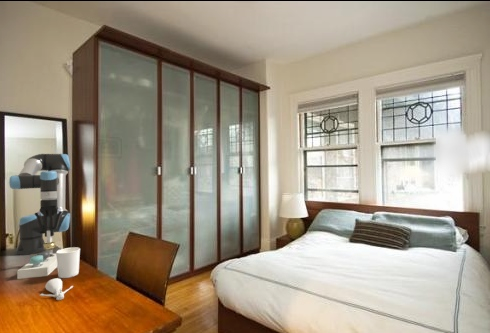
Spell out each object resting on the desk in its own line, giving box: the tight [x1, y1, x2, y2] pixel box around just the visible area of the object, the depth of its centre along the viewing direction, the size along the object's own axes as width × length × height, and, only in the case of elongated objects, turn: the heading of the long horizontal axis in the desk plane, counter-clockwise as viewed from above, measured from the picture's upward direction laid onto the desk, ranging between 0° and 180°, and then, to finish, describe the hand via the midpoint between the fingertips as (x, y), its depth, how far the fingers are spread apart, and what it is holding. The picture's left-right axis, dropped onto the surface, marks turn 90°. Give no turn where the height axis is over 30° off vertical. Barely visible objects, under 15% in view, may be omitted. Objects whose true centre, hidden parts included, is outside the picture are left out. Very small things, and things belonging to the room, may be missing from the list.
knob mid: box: [36, 250, 50, 262], centre depth 142 cm, size 5×5×7 cm
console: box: [16, 253, 57, 280], centre depth 142 cm, size 25×12×4 cm, turn 17°
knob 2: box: [44, 241, 56, 256], centre depth 149 cm, size 5×5×7 cm
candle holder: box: [55, 246, 81, 279], centre depth 132 cm, size 10×10×12 cm
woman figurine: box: [39, 277, 74, 301], centre depth 112 cm, size 12×4×18 cm
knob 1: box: [29, 254, 43, 267], centre depth 134 cm, size 5×5×7 cm
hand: (49, 242), depth 149 cm, fingers closed
